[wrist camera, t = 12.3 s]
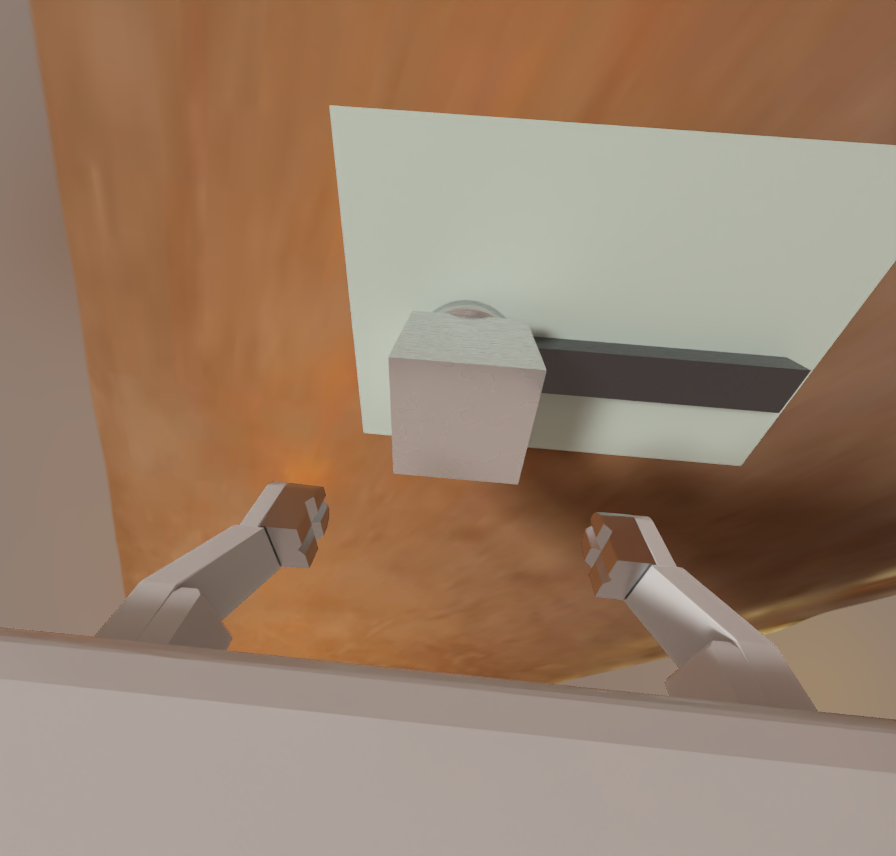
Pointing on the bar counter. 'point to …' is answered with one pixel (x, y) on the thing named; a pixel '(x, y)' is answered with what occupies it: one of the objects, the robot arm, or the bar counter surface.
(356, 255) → the mat
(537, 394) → the grey box
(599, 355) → the lever
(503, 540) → the bar counter surface
